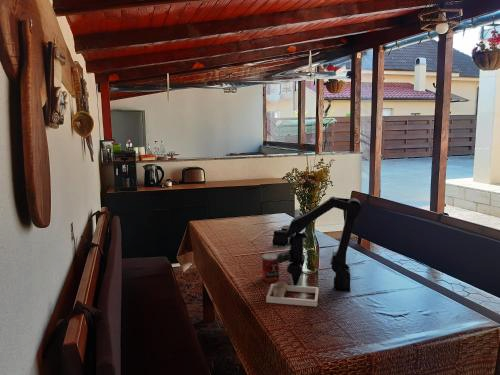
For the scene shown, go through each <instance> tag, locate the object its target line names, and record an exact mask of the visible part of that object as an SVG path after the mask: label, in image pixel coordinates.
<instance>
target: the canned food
mask: <svg viewBox="0 0 500 375" xmlns="http://www.w3.org/2000/svg"><path fill="white" fill-rule="evenodd" d="M277 255H278V254H276V253H265V254H263V255H262V279H263V281H265V282H268V283H275V282H276V283H277V281H279V279H280V263H279V262H278V261H277Z"/></svg>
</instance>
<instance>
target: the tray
mask: <svg viewBox="0 0 500 375" xmlns="http://www.w3.org/2000/svg"><path fill="white" fill-rule="evenodd" d="M275 285H276V283H271V284H270V286H269V289H268V291H267V294H266V296H265V298H266V299H265V301H266V302H265V303H270V304H280V305H281V304H283V305H295V306H307V307H318V300H319V299H318V298H319V287H318V286H307V285H306V286H305V285H301V286H294V285H291V284H287V286H286V292H287V291H288V292H299V293H310V294H311V293H312V294H315V295H314V299H308V298H296V297H295V298H294V297H285V296H284V297H274V296H273V294H274V289H275Z"/></svg>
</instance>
